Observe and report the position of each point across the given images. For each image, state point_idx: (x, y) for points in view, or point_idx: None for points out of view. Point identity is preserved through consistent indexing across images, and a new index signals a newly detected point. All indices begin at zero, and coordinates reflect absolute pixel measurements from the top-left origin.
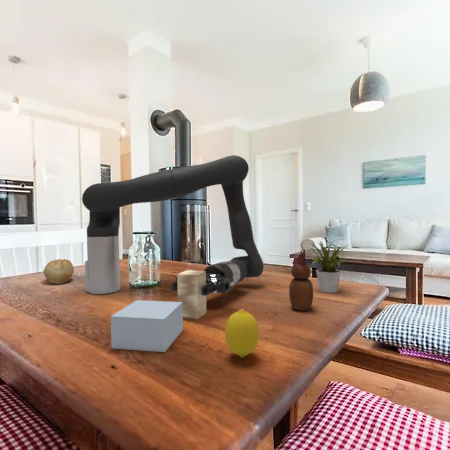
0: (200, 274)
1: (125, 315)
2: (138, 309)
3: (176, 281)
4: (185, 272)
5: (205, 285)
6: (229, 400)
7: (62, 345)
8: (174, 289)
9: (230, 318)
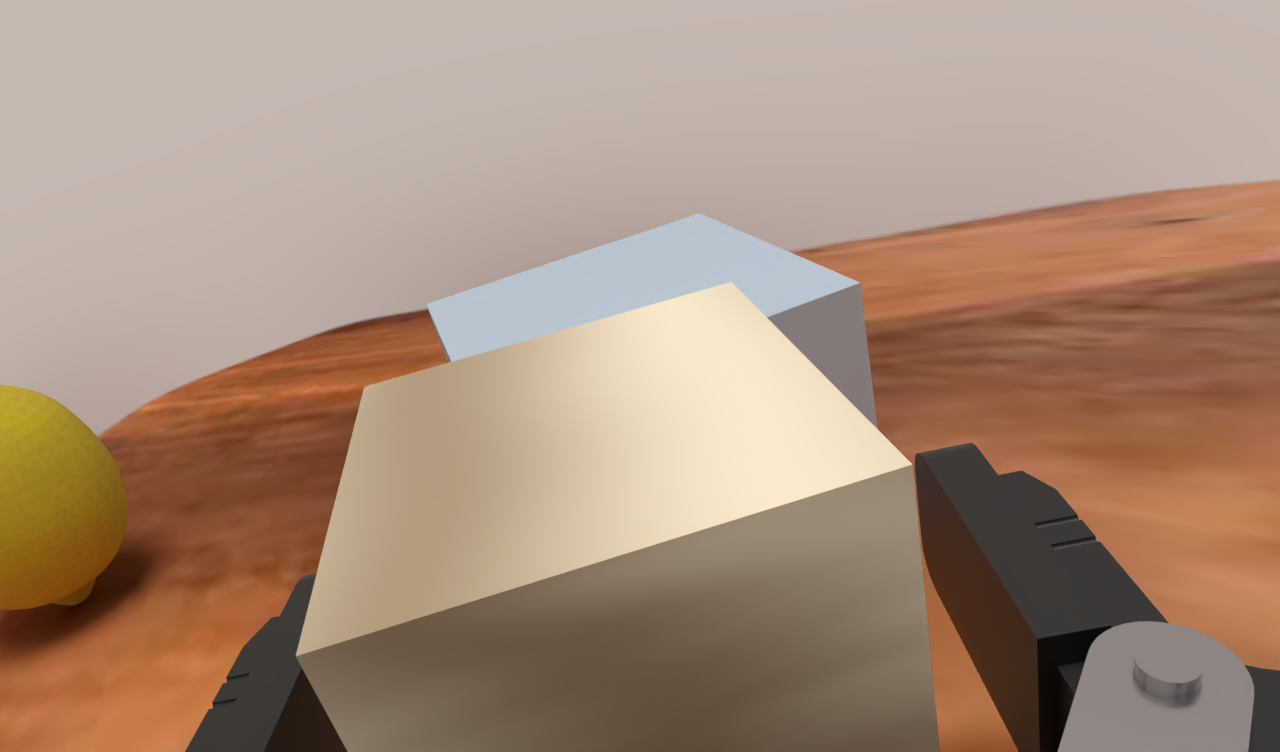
0: (354, 468)
1: (644, 238)
2: (660, 268)
3: (948, 484)
4: (709, 365)
5: (297, 597)
6: (151, 447)
7: (931, 277)
8: (925, 549)
9: (36, 393)
